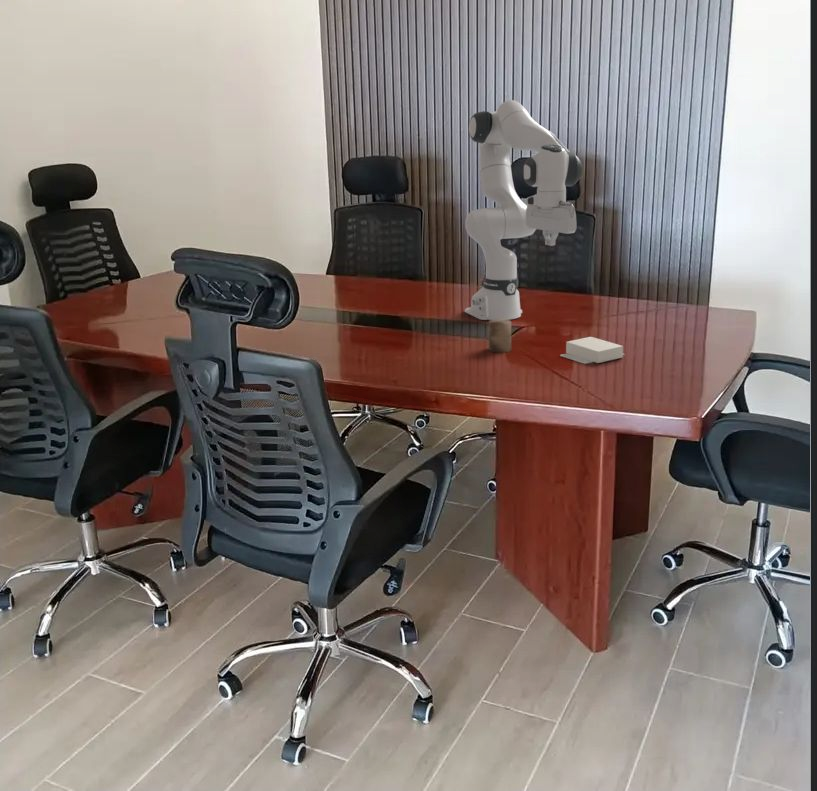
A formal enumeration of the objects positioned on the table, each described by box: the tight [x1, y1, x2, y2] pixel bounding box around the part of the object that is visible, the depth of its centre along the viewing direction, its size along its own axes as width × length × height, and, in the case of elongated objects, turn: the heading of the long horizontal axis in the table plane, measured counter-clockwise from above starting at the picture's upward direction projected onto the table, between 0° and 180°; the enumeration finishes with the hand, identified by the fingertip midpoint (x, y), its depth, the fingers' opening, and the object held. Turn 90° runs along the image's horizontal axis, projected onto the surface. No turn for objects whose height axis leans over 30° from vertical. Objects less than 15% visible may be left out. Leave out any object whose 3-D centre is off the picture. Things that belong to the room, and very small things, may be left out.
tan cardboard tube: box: [488, 319, 512, 354], centre depth 276 cm, size 7×7×9 cm
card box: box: [565, 336, 624, 364], centre depth 267 cm, size 4×10×14 cm
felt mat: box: [559, 353, 625, 365], centre depth 268 cm, size 11×16×1 cm
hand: (550, 245), depth 275 cm, fingers closed
